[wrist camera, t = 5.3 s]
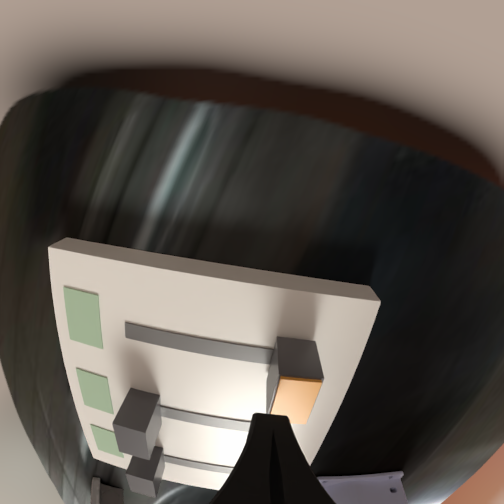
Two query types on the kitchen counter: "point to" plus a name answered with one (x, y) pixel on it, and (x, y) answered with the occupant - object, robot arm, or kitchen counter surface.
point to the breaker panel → (192, 355)
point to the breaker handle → (293, 379)
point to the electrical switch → (105, 493)
